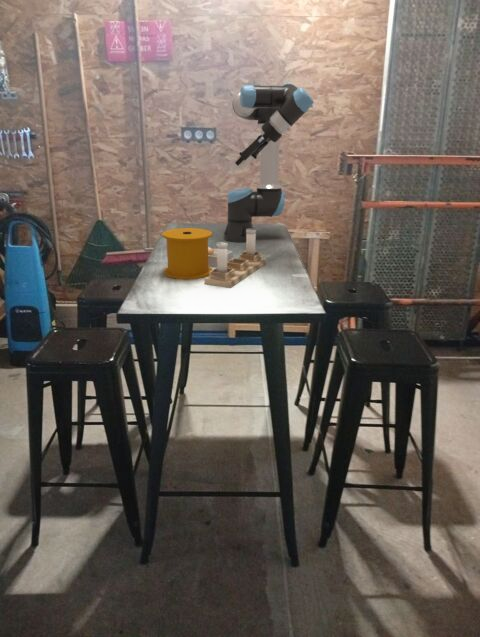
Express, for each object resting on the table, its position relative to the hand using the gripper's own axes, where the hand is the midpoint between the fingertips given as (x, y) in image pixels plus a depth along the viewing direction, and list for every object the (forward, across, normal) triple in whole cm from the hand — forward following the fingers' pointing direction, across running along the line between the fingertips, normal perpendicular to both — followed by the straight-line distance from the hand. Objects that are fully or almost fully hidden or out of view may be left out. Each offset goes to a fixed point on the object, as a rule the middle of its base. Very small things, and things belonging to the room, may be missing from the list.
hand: (235, 169), depth 184 cm
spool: (+34, -21, -17) cm, 44 cm away
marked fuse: (+26, -8, -20) cm, 34 cm away
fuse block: (+21, -17, -29) cm, 40 cm away
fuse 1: (+22, -30, -26) cm, 45 cm away
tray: (+30, -6, -20) cm, 37 cm away
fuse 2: (+18, -4, -29) cm, 35 cm away
